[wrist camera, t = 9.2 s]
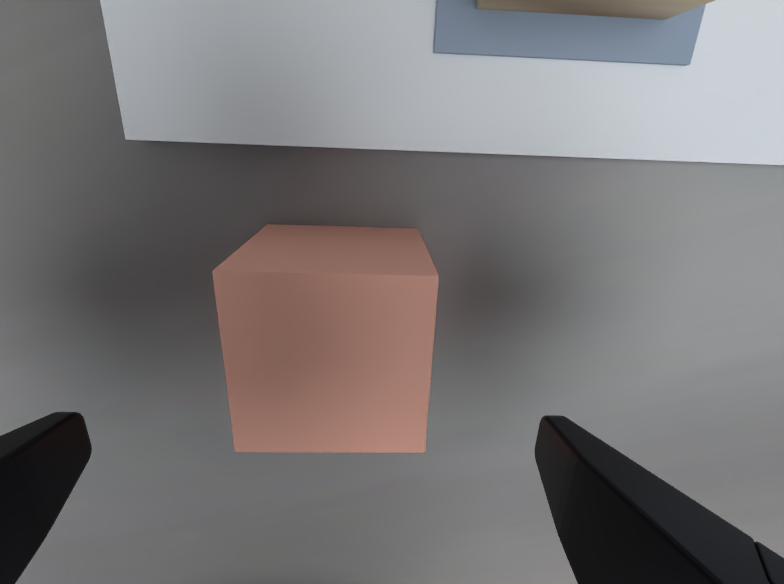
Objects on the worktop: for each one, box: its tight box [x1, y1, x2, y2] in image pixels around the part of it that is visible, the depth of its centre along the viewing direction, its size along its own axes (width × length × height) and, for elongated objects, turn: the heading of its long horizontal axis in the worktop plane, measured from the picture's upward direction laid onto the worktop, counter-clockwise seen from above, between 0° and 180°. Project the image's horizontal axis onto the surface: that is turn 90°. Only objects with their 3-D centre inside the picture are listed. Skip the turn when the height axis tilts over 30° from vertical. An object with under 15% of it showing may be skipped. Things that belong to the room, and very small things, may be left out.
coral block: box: [212, 224, 439, 453], centre depth 12 cm, size 5×5×5 cm
